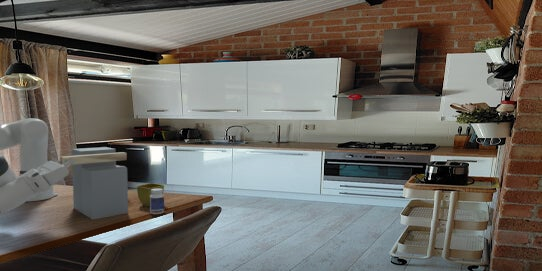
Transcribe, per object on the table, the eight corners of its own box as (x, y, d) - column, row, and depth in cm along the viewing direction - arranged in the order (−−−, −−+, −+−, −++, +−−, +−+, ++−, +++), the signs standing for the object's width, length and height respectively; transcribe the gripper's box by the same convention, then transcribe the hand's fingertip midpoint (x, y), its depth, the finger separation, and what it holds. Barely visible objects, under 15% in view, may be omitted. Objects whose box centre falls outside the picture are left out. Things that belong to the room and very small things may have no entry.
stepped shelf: (73, 208, 159) (71, 149, 158) (106, 202, 169) (105, 147, 168) (92, 219, 142) (90, 153, 141) (128, 212, 152) (126, 151, 150)
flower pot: (165, 204, 167) (164, 184, 166) (149, 208, 159) (149, 188, 159) (151, 201, 171) (151, 182, 171) (136, 205, 164) (136, 186, 163)
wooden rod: (60, 164, 140) (60, 156, 140) (122, 159, 157) (122, 152, 157) (63, 165, 138) (63, 157, 137) (126, 159, 154) (126, 152, 154)
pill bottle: (166, 212, 153) (166, 189, 152) (154, 215, 148) (154, 191, 148) (159, 210, 157) (159, 187, 156) (147, 212, 152) (146, 189, 152)
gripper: (34, 183, 142) (68, 163, 150) (48, 191, 127) (84, 168, 135) (24, 170, 140) (59, 150, 147) (37, 177, 125) (74, 154, 133)
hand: (71, 159), depth 141 cm, fingers closed on wooden rod, 4 cm apart
